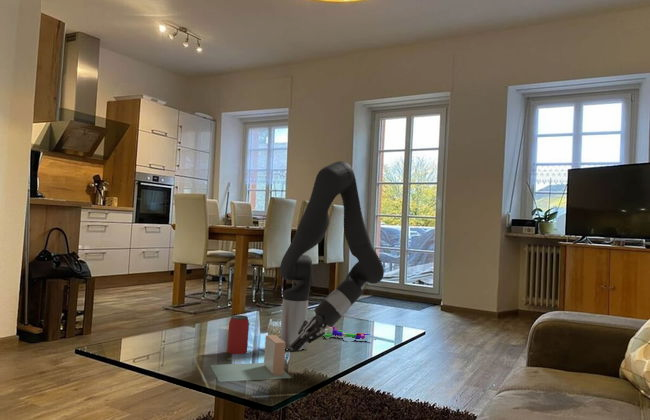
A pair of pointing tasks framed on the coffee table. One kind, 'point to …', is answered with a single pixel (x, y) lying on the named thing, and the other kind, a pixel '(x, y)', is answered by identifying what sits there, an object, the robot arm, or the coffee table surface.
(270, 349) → the tile
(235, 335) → the beer can
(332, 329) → the building block set
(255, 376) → the felt mat
